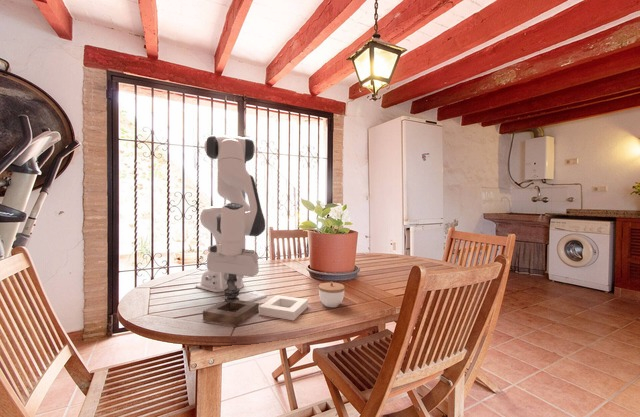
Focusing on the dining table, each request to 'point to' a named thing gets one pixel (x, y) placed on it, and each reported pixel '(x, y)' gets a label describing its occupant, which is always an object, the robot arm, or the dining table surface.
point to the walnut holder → (233, 318)
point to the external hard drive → (251, 296)
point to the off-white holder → (275, 309)
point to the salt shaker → (231, 289)
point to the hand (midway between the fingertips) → (232, 285)
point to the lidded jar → (331, 294)
